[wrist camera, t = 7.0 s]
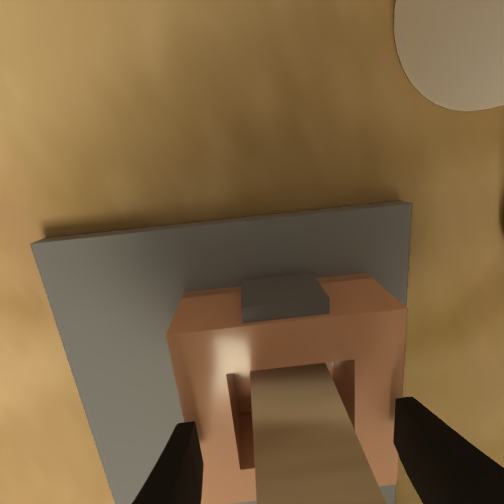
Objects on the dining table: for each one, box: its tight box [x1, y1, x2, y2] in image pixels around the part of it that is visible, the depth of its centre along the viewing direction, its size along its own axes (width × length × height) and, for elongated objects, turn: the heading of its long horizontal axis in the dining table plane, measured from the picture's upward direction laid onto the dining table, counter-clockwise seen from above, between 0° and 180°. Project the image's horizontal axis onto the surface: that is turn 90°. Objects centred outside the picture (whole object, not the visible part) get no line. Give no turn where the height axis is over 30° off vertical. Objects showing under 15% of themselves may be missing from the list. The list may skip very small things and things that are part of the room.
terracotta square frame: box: [166, 273, 408, 504], centre depth 13 cm, size 9×8×3 cm
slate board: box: [30, 201, 412, 504], centre depth 16 cm, size 22×16×1 cm
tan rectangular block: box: [250, 363, 386, 504], centre depth 10 cm, size 3×3×9 cm
